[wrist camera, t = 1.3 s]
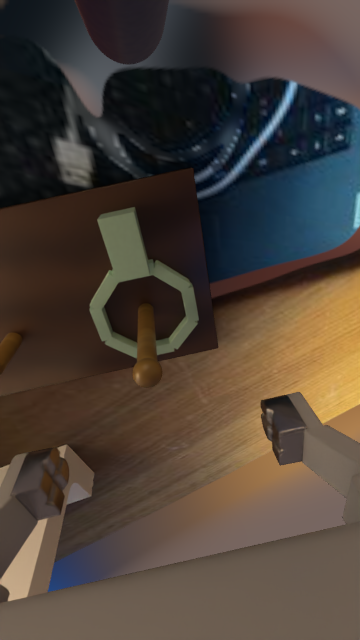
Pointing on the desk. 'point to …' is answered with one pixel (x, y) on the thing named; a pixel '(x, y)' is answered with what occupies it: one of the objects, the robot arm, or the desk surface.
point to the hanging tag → (133, 264)
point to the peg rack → (97, 283)
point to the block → (45, 535)
